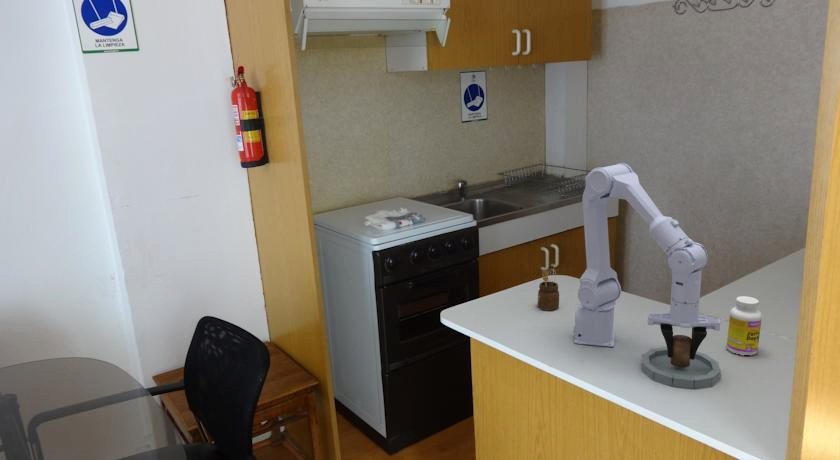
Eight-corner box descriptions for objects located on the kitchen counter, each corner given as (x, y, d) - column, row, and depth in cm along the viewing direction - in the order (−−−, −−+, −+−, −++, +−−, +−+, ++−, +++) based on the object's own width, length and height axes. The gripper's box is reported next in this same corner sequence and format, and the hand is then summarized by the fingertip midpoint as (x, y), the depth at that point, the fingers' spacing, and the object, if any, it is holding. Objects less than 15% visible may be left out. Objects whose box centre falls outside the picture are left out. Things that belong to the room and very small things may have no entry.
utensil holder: (562, 305, 182) (563, 265, 179) (554, 313, 177) (555, 272, 174) (542, 302, 186) (543, 262, 183) (534, 309, 180) (534, 269, 177)
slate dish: (643, 383, 138) (643, 375, 137) (640, 351, 152) (640, 344, 152) (724, 392, 133) (725, 383, 133) (713, 358, 148) (714, 350, 147)
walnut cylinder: (671, 366, 141) (673, 341, 140) (669, 358, 145) (671, 334, 143) (690, 368, 140) (692, 343, 138) (688, 360, 144) (690, 335, 142)
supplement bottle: (745, 359, 147) (750, 307, 144) (720, 348, 153) (725, 298, 150) (764, 352, 150) (769, 301, 147) (738, 342, 156) (743, 292, 153)
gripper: (650, 303, 137) (646, 361, 140) (724, 308, 133) (718, 368, 136) (648, 292, 143) (645, 347, 147) (719, 296, 139) (714, 353, 143)
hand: (680, 356), depth 142 cm, fingers closed on walnut cylinder, 4 cm apart
